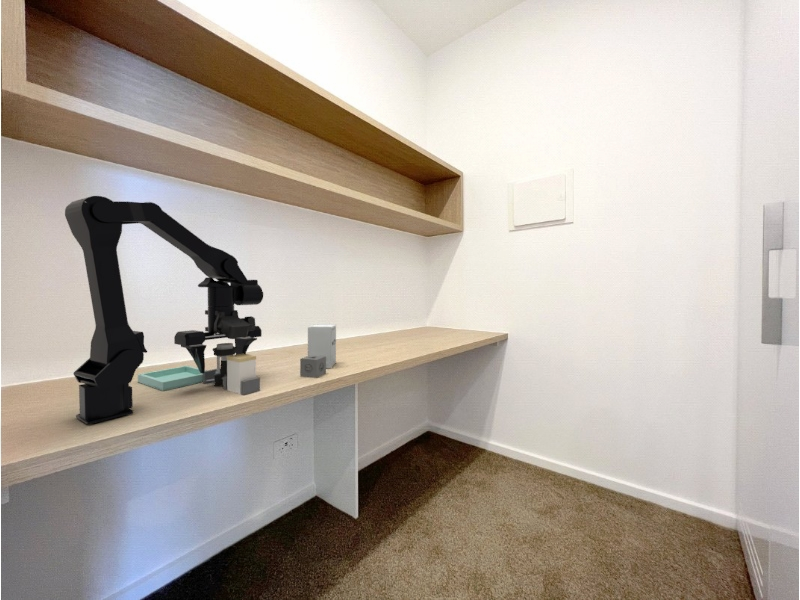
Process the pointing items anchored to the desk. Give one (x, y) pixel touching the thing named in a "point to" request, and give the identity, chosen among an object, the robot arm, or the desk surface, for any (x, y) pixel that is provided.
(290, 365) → the desk surface
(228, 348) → the push button
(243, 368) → the white lidded container
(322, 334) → the supplement box
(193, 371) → the tray
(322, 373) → the dark grey cube
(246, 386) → the set of grey blocks
